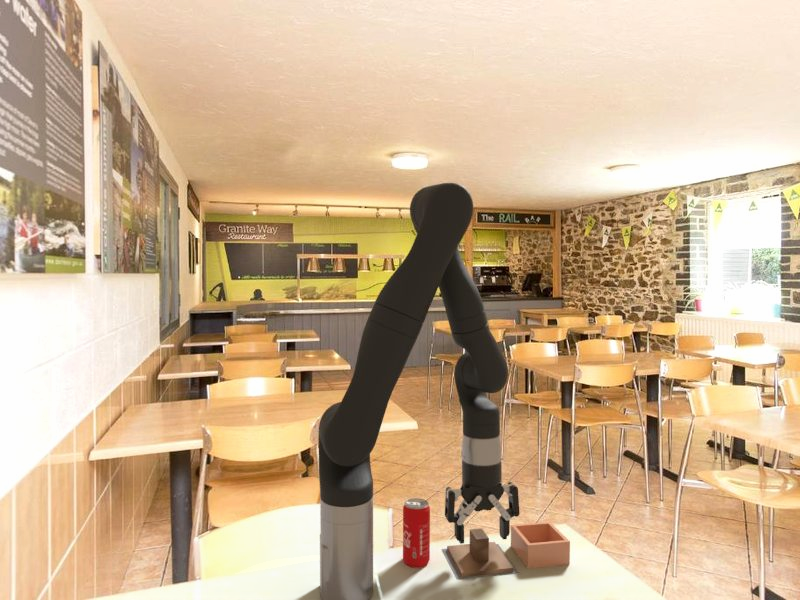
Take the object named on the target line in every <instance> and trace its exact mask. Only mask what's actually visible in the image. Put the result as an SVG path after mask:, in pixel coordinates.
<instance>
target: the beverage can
mask: <svg viewBox="0 0 800 600" xmlns="http://www.w3.org/2000/svg"><path fill="white" fill-rule="evenodd" d="M403 503H404V504H403V507H402V560H403V562H404V564H405V565H406V566H408V567H410V568H417V569H419V568H423V567H426V566H427V565H428V564H429V561H430V560H431V558H430V557H431V556H430V555H431V552H430V551H431V550H430V549H431V548H430V547H431V536H430V535H431V533H430V532H431V506H430V503H429V501H427V500H426V499H423V498H418V497H417V498H415V497H414V498H409V499H407V500H405V501H404V502H403Z"/></svg>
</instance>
